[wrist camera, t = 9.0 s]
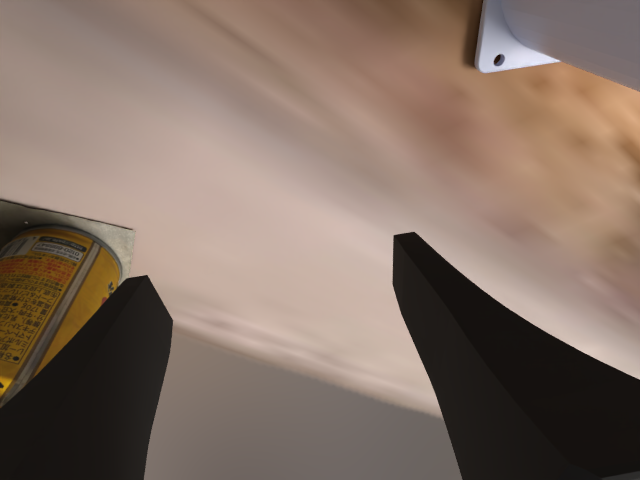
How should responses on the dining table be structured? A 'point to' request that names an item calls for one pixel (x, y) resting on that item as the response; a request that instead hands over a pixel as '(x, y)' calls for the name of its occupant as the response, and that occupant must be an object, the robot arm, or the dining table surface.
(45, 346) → the condiment
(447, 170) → the dining table surface
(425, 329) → the robot arm
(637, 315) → the dining table surface
